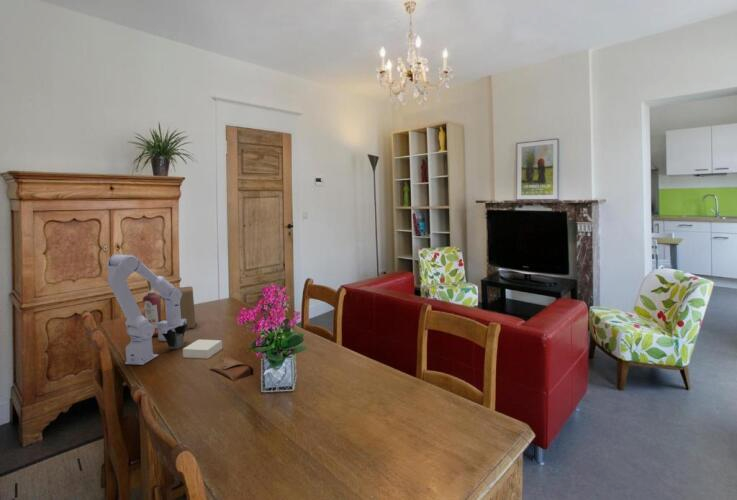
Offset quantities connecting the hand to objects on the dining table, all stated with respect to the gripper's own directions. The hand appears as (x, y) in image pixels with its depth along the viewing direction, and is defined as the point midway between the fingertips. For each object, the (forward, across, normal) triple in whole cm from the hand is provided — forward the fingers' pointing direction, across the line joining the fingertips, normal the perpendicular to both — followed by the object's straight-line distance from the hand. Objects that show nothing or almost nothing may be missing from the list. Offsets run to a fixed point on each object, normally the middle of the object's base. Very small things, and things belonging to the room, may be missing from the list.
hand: (175, 343), depth 172 cm
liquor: (+2, +13, +20) cm, 24 cm away
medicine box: (+2, +8, +9) cm, 12 cm away
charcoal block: (+2, 0, 0) cm, 2 cm away
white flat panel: (+2, -5, -16) cm, 17 cm away
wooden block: (+2, +26, +13) cm, 29 cm away
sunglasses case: (+2, -21, -36) cm, 42 cm away
